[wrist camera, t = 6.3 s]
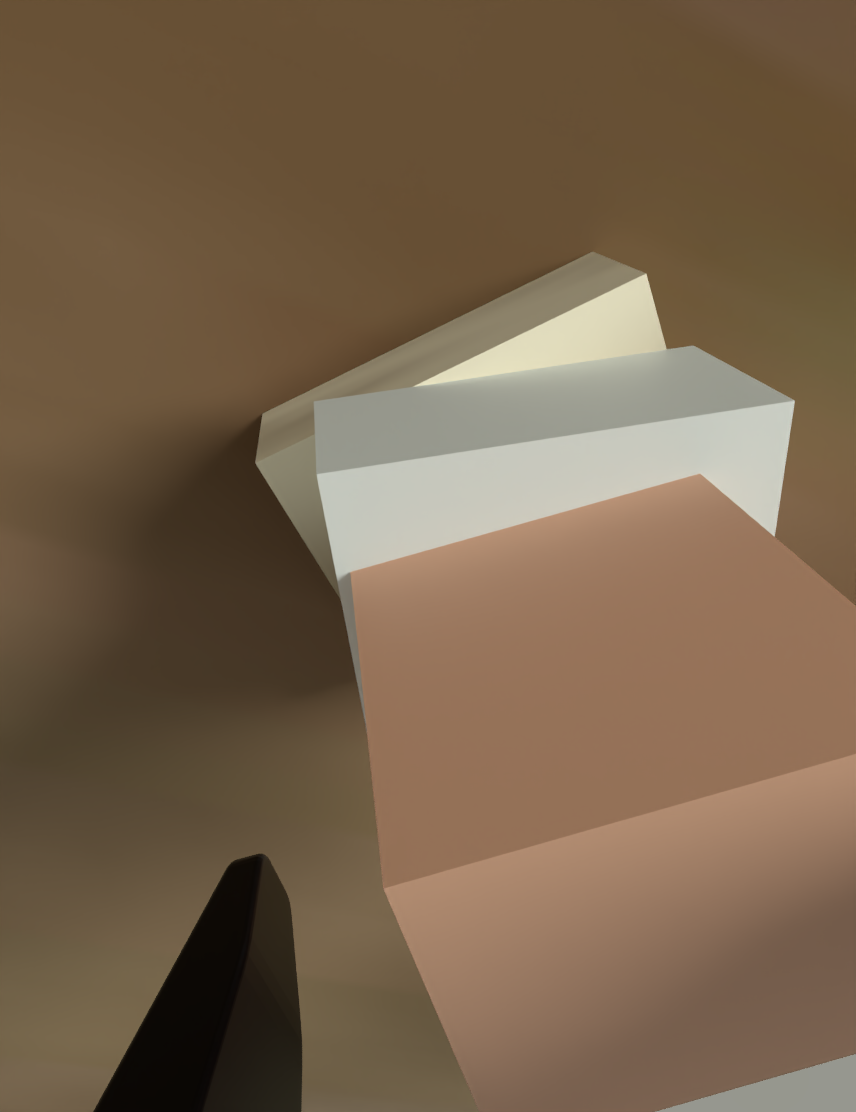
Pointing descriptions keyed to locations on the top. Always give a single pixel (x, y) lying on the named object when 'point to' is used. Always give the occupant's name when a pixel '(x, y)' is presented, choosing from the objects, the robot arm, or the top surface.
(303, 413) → the tower base
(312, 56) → the top surface
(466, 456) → the tower top
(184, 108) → the top surface
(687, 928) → the cube
